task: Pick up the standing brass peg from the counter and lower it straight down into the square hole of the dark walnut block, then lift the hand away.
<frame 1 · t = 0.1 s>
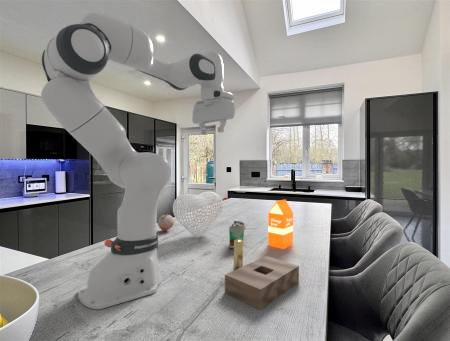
hand: (212, 133, 96), 48 cm above the counter, tool pointing down, fingers open, 8 cm apart
heart: (198, 237, 123), on the counter
hole block: (263, 287, 72), on the counter
food container: (238, 246, 109), on the counter
peg: (238, 270, 84), on the counter
decorative fruit: (166, 231, 133), on the counter
orange juice: (280, 245, 112), on the counter
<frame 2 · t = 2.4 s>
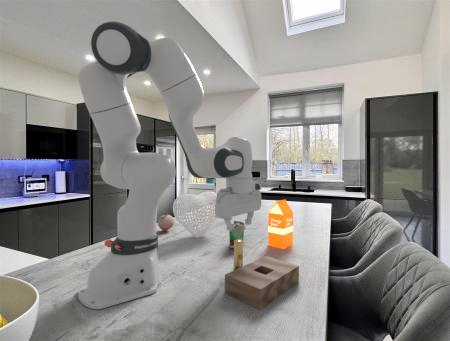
hand: (239, 227, 84), 15 cm above the counter, tool pointing down, fingers open, 8 cm apart
nothing on the counter moved.
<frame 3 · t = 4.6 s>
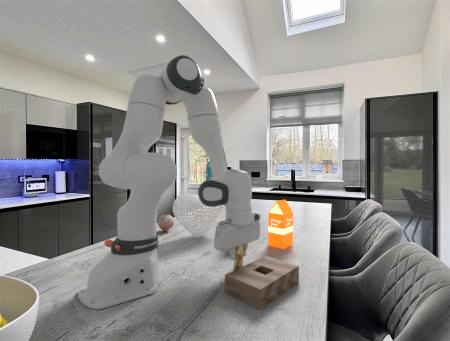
hand: (238, 257, 84), 4 cm above the counter, tool pointing down, fingers closed on peg, 3 cm apart
peg: (238, 270, 84), on the counter, touching gripper
everything else where it was.
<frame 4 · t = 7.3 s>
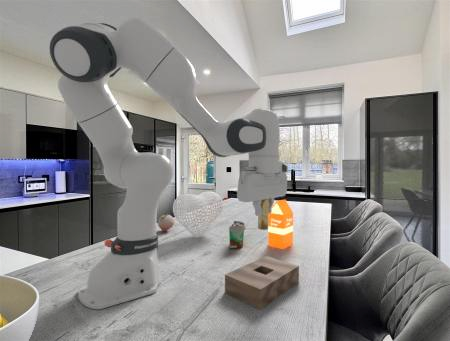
hand: (263, 214, 72), 21 cm above the counter, tool pointing down, fingers closed on peg, 3 cm apart
peg: (263, 228, 72), point 17 cm above the counter, touching gripper
everything else where it was.
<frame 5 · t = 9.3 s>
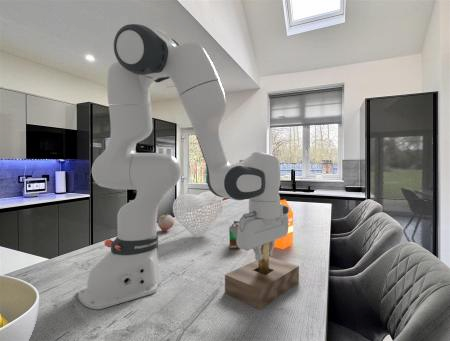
hand: (263, 257, 71), 9 cm above the counter, tool pointing down, fingers closed on peg, 3 cm apart
peg: (263, 272, 71), point 5 cm above the counter, touching gripper
everything else where it was.
when the fingers open (7 cm above the counter, at t = 10.5 s): peg drops 2 cm, resting in hole block.
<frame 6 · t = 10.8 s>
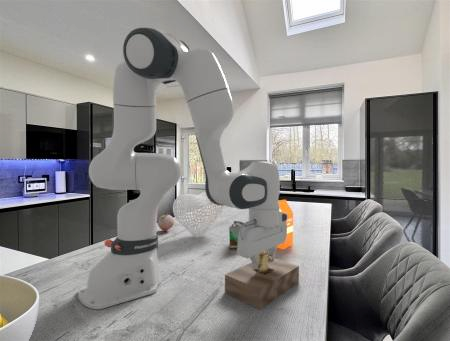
hand: (263, 264, 72), 7 cm above the counter, tool pointing down, fingers open, 6 cm apart
peg: (262, 287, 72), resting in hole block
everything else where it was.
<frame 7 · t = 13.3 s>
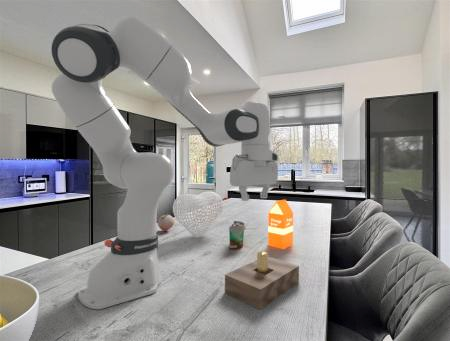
hand: (254, 199, 78), 25 cm above the counter, tool pointing down, fingers open, 8 cm apart
nothing on the counter moved.
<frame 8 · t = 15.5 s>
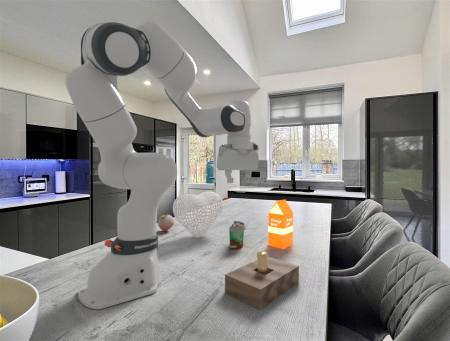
hand: (238, 182, 93), 29 cm above the counter, tool pointing down, fingers open, 8 cm apart
nothing on the counter moved.
at the end: peg 0.3 cm off-centre on the hole block, point 0.0 cm above the hole block's base; peg tilted 0°; the gripper is holding nothing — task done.
